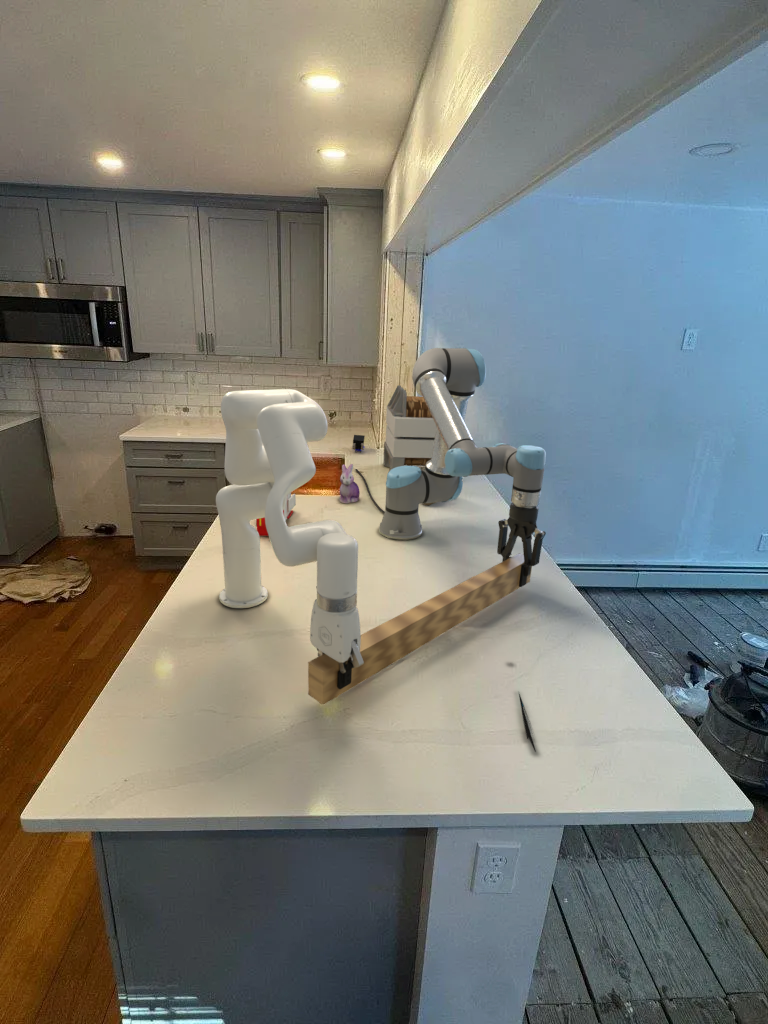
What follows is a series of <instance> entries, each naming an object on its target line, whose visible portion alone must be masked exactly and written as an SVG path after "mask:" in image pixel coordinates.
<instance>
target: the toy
mask: <svg viewBox="0 0 768 1024" xmlns="http://www.w3.org/2000/svg"><path fill="white" fill-rule="evenodd" d="M296 495H297V494H296V493H293V494H292V492H291V493H289V494H288V495H287V498H286V504H285V508H284V510H283V514H284V518H285V521H286V522H287V520H289V519H290V518H291V516H292V515H293V513H294V510H293V509H294V507H296V505H297V499H296ZM255 524H256V525H255V526H256V530H257V531H258V533H259V536H260V537H269V535H268V532H267V529H266V524H265V518H259V519H255Z"/></svg>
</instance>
